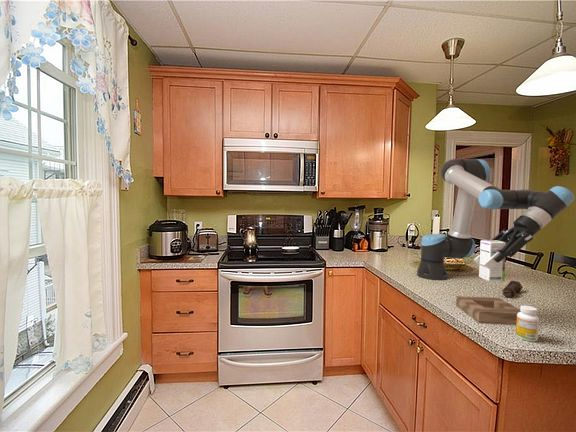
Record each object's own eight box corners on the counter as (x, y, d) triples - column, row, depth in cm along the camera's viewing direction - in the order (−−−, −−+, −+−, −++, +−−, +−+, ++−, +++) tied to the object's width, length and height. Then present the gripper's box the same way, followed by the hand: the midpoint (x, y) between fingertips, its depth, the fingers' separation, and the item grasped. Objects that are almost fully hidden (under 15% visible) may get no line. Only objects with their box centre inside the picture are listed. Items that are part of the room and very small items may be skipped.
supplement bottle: (522, 332, 95) (523, 303, 94) (541, 340, 90) (543, 309, 89) (511, 335, 93) (513, 305, 92) (531, 343, 88) (533, 312, 87)
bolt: (504, 301, 129) (512, 293, 139) (516, 298, 125) (524, 290, 135) (497, 289, 131) (506, 281, 140) (509, 285, 127) (517, 278, 137)
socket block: (456, 305, 118) (456, 296, 118) (497, 307, 117) (498, 297, 116) (478, 322, 102) (479, 311, 102) (526, 324, 101) (527, 313, 100)
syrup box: (488, 281, 106) (491, 242, 104) (478, 276, 111) (480, 239, 110) (504, 281, 106) (507, 242, 104) (493, 277, 111) (495, 239, 110)
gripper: (506, 213, 115) (461, 252, 118) (544, 216, 97) (489, 263, 99) (519, 226, 115) (474, 265, 118) (560, 232, 96) (505, 278, 99)
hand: (481, 264), depth 108 cm, fingers closed on syrup box, 6 cm apart
